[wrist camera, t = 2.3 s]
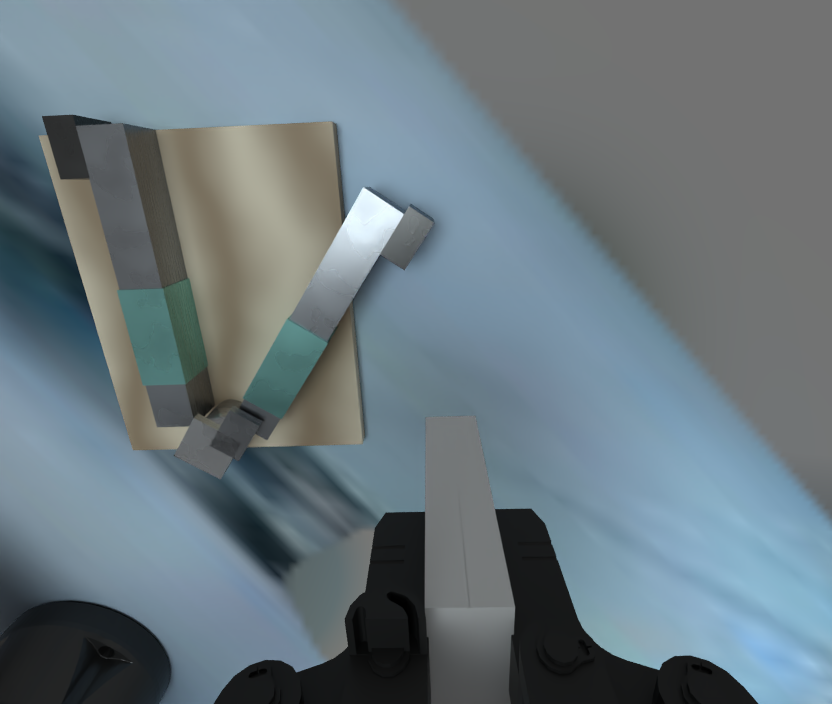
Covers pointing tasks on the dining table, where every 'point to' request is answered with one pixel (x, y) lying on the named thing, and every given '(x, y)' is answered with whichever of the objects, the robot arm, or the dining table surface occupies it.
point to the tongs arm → (308, 328)
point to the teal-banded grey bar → (143, 260)
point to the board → (234, 270)
